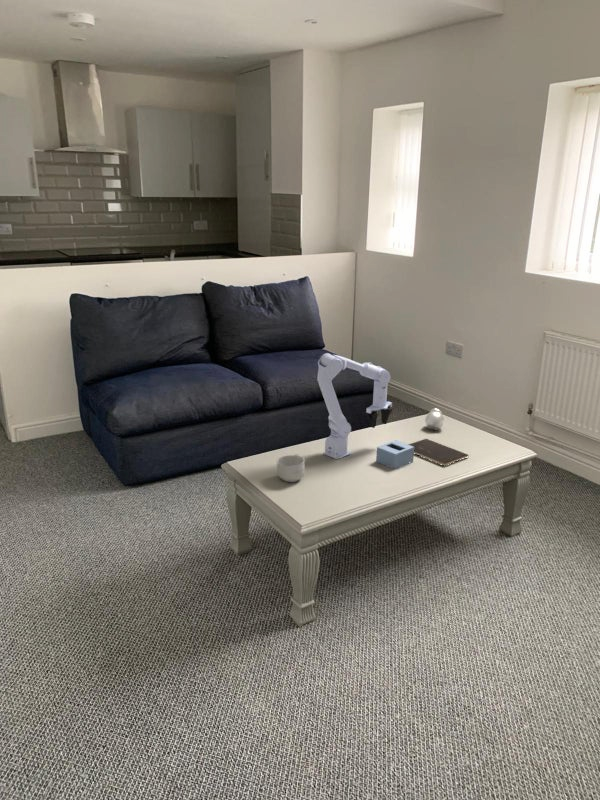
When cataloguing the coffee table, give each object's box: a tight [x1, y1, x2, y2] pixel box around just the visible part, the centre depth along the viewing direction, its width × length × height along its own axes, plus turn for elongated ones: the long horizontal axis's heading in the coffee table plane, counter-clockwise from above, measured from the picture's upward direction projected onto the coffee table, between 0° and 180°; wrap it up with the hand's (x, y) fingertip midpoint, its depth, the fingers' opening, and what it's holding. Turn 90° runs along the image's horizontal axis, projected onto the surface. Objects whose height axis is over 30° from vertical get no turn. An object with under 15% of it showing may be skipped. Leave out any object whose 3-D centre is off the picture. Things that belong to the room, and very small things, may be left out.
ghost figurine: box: [424, 407, 445, 430], centre depth 303 cm, size 9×10×10 cm
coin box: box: [375, 440, 415, 470], centre depth 266 cm, size 12×10×6 cm
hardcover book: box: [408, 438, 469, 467], centre depth 275 cm, size 16×23×2 cm
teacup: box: [276, 453, 306, 483], centre depth 249 cm, size 14×11×8 cm
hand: (378, 425), depth 278 cm, fingers open, 7 cm apart
